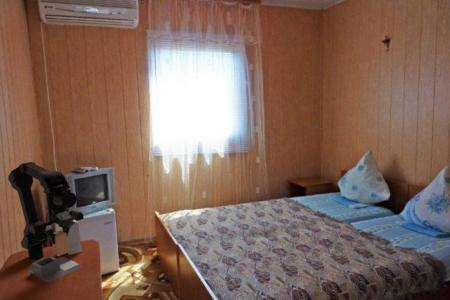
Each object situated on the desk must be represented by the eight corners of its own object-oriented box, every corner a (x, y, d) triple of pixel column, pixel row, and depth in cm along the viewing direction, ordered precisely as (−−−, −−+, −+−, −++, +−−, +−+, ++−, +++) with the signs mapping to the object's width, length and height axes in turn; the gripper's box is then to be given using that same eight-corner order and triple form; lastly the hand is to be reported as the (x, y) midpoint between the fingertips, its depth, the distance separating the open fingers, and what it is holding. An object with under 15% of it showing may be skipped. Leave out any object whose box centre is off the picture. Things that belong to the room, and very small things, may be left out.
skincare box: (82, 253, 137) (79, 221, 136) (67, 257, 134) (64, 225, 132) (79, 247, 144) (76, 216, 142) (65, 250, 141) (62, 219, 139)
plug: (53, 253, 123) (50, 233, 121) (63, 249, 126) (61, 229, 125) (58, 256, 120) (55, 235, 119) (68, 252, 123) (66, 231, 122)
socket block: (27, 273, 122) (26, 261, 121) (63, 258, 133) (61, 247, 133) (47, 285, 113) (46, 272, 112) (83, 268, 124) (82, 256, 124)
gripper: (38, 214, 108) (43, 256, 110) (89, 201, 123) (92, 238, 125) (25, 209, 115) (30, 249, 117) (74, 197, 130) (78, 232, 132)
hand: (59, 242), depth 122 cm, fingers closed on plug, 4 cm apart
